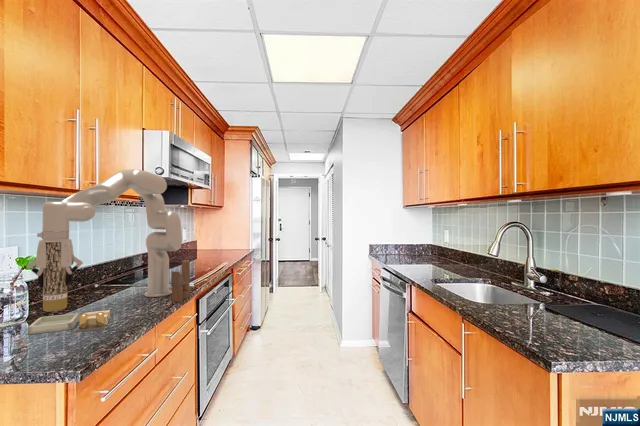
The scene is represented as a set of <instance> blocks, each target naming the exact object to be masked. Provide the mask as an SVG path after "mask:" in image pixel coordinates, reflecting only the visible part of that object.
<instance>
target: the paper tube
mask: <svg viewBox="0 0 640 426" xmlns="http://www.w3.org/2000/svg"><path fill="white" fill-rule="evenodd" d="M45 243H46V268H45V269H43V287H42V311H44V312H47V313H48V312H49V313H51V312H57V311H62V310H65V309H66V308H67V307H68V285H66V275H67V271H66V267H65V268H62V267H61V246H62V241H61V240H58V241H46V242H45Z"/></svg>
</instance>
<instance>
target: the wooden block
mask: <svg viewBox="0 0 640 426" xmlns="http://www.w3.org/2000/svg"><path fill="white" fill-rule="evenodd" d="M190 267H191V265H190V260H188V259H185V260H181V272H180V271H171V290H172V294H171V302H172V303H180V302H182V301H183V300H186V299H187V298H191V294H192V293H191V289H190V277H191V276H190V273H191V272H190Z"/></svg>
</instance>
